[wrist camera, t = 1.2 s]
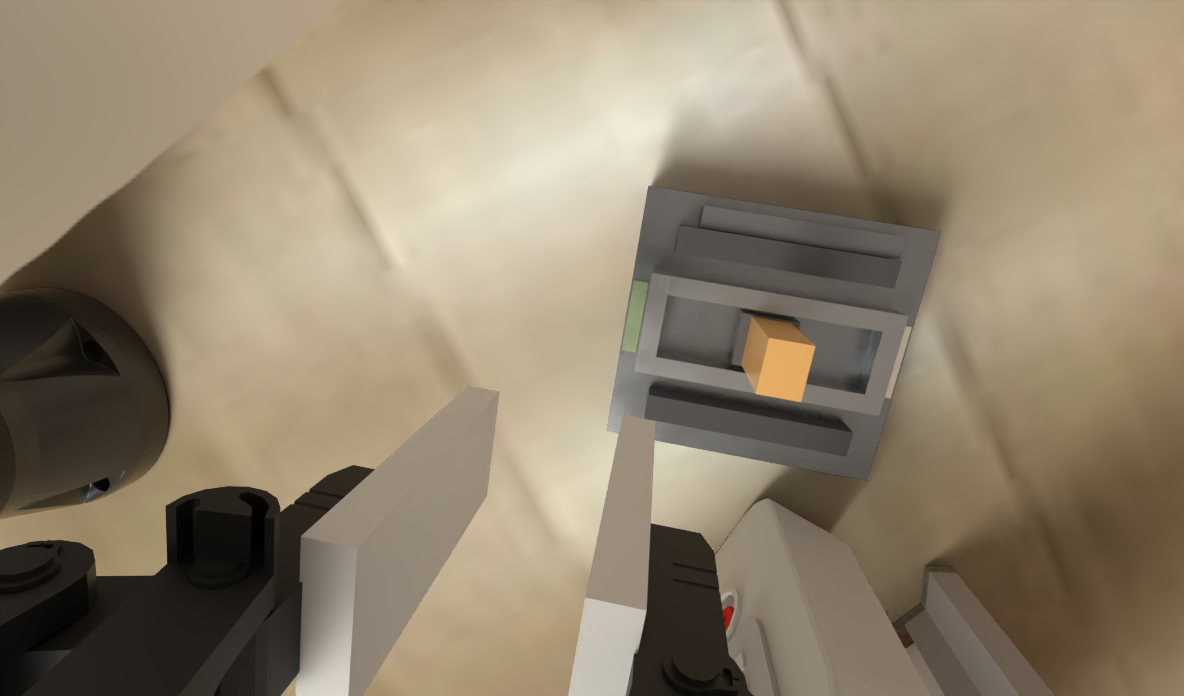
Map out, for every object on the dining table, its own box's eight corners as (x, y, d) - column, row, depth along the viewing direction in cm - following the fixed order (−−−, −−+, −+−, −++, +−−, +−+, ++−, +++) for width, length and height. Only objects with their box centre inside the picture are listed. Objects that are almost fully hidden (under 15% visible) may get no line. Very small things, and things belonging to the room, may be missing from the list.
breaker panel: (610, 413, 37) (603, 440, 33) (649, 187, 34) (647, 184, 29) (851, 458, 36) (876, 493, 32) (916, 229, 33) (955, 232, 28)
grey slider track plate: (645, 410, 34) (644, 418, 32) (684, 202, 31) (684, 202, 30) (838, 446, 33) (846, 456, 32) (897, 236, 30) (908, 237, 29)
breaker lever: (728, 358, 32) (744, 394, 26) (739, 309, 32) (758, 333, 26) (783, 368, 32) (811, 406, 26) (795, 318, 31) (827, 345, 25)
